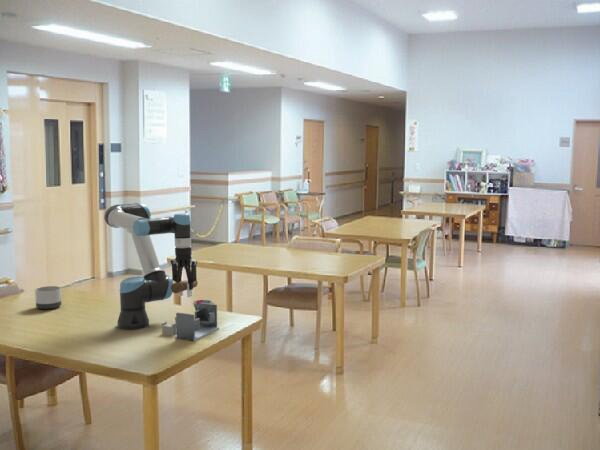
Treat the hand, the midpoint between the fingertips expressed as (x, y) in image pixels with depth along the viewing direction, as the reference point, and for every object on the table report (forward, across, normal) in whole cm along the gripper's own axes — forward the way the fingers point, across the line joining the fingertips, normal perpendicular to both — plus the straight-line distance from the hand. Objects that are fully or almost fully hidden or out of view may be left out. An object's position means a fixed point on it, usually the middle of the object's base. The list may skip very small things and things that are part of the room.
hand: (185, 296), depth 295 cm
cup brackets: (+18, +5, +1) cm, 19 cm away
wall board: (+18, +5, +1) cm, 19 cm away
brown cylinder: (-3, 0, 0) cm, 3 cm away
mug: (+17, -2, +19) cm, 26 cm away
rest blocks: (+17, -7, +1) cm, 19 cm away
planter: (+14, -95, +7) cm, 96 cm away
